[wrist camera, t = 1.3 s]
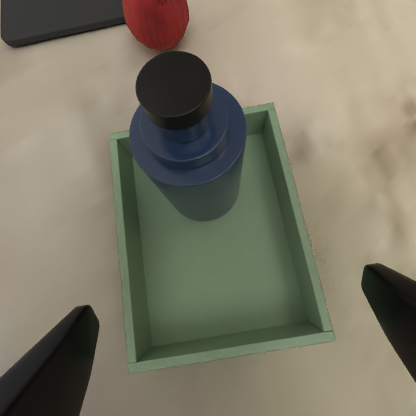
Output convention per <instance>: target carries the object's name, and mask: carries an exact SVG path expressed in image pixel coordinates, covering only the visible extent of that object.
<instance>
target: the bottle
mask: <svg viewBox="0 0 416 416" xmlns="http://www.w3.org/2000/svg"><path fill="white" fill-rule="evenodd" d="M136 95H137V98H138V100H139V102H140V105H139V107H138V108H137V110H136V112H135V114H134V116H133V118H132V121H131V125H130V131H129V143H130V148H131V152H132V155H133V157H134V159H135V161H136V162H137V164H138V165H139V167H140V168H141V169H142V170H143V172H144V173H145V174H146V175H147V176H148V177H149V178H150V180H151V181H152V182H153V183H154V184H155V185H156V187H157V188H158V189H159V190H160V191H161V192H162V194H163V195H164V196H165V197H166V198H167V199H168V200H169V202H170V203H171V204H172V205H173V206H174V207H175V209H176V210H177V211H178V212H179V213H181V214H182V215H183V216H185V217H186V218H189V219H191V220H195V221H211V220H215V219H217V218H220V217H221V216H223V215H225V214H226V213H227V212H228V211H229V210H230V209H231V208H232V207H233V205H234V204H235V202H236V200H237V198H238V194H239V188H240V180H241V173H242V166H243V158H244V151H245V144H246V136H247V124H246V118H245V115H244V112H243V110H242V108H241V106H240V105H239V103H238V102H237V100H236V99H235V98H234V97H233V96H232V95H231V94H230V93H229V92H228V91H227V90H225V89H224V88H222V87H220V86H218V85H216V84H214V83H212V80H211V74H210V71H209V69H208V67H207V66H206V64H205V63H204V62H203V61H202V60H201V59H200V58H198V57H197V56H195V55H193V54H190V53H187V52H182V51H172V52H166V53H163V54H160V55H158V56H156V57H154V58H153V59H151V60H150V61H149V62H147V63H146V64H145V65H144V66H143V68H142V69H141V71H140V72H139V74H138V77H137V80H136Z"/></svg>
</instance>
